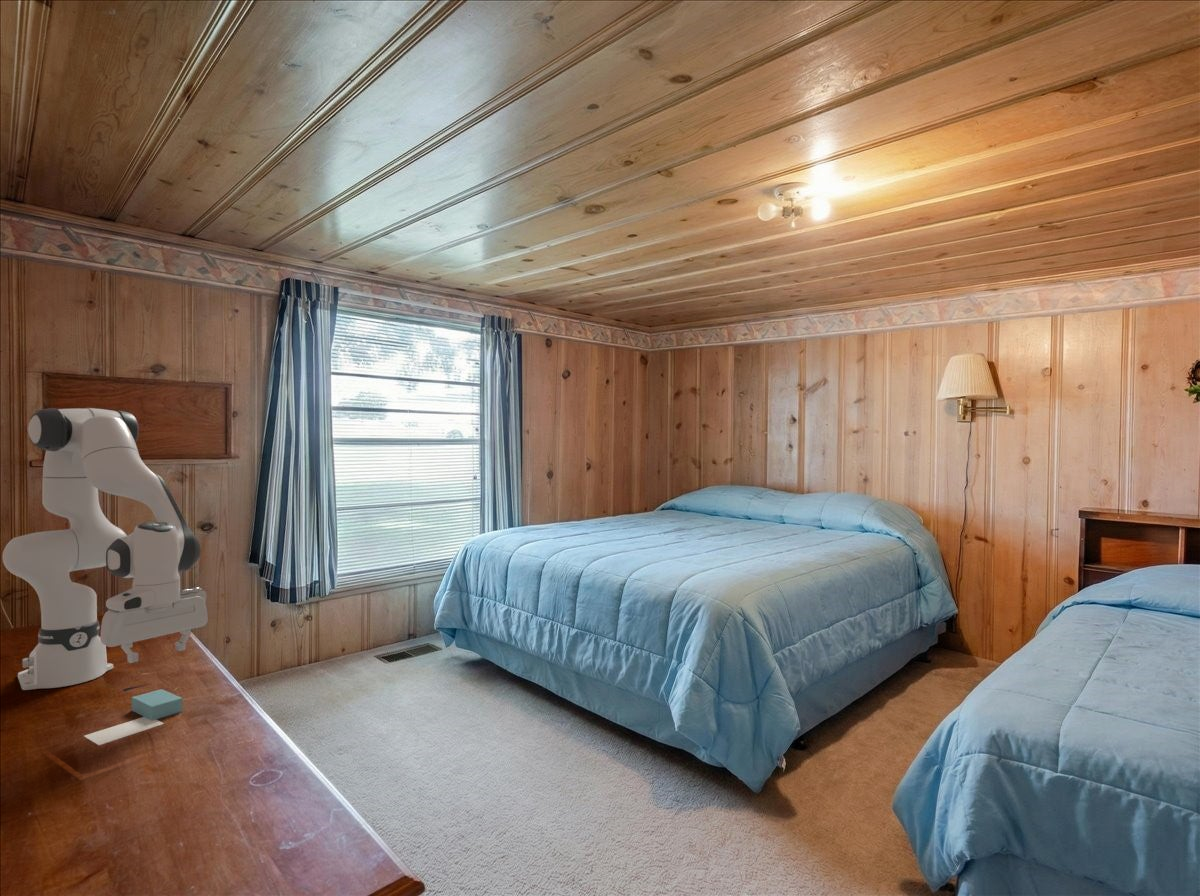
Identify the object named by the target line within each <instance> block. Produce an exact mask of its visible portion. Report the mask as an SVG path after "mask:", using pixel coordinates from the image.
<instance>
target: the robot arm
mask: <svg viewBox="0 0 1200 896" xmlns="http://www.w3.org/2000/svg"><path fill="white" fill-rule="evenodd" d="M28 422H29V423H28V426H27V430H28V433H27V434H28V437H29V439H30V442H31V444H32V445H34V446H35V447H36V448H37V449H38V450H42V451H45V455H44V459H43V467H42V484H41V485H42V492H41V493H42V494H41V495H42V496H41V499H42V501H41V503H42V506H43V508H44V509H45V510H46V511H47V512H49V513H50V514H52V515H55V516H59V517H62V518H64V519H68V521H69V525H70V527H69V528H67V529H59V530H57V529H56V530H47V531H46V530H45V531H37V532H32V533H28V534H23V535H20V536H16V537H12V539H10V541H8V543H7V544H6V545H5V547H4V549H3V551H2V563H3V565H4V567H5V569H6V570H7V571H8V572H10V573H11V574H12V575H14V576H16V577H18V578H20V579H22V580H24V581H25V582H27V583H28V584H29V585H30V586H31V587H32V588H33V590H35V592H36V594H37V596H38V600H39V605H40V613H41V614H40V618H41V620H40V621H41V627H40V628H39V631H38V633H37V634H38V635H37V637H38V638H37V642H38V644H36V646H35V647H34V649H33V650H32V651H31V652H29V657H25V658H22V661H21V662H22V663H21V664H22V668H26V669H25V670H22V671H19V672H17V679H18V682H19V685H20V688H21V690H22V691H31V690H37V689H56V688H62V687H68V686H74V685H78V684H82V683H86V682H89V681H92V680H95V679H97V678H99V677H101V676H103V675H104V674H105V673H106V672H108V671H110V670H112V669H114V663H109V662H108V659H107V647H108V648H114V647H117V646H120V648H121V649H122V650H123V652H125V654H126V655H127V658H126V660H127V663H128V664H132V663H133V664H134V663H136V662H138V661H140V660H139V652H134V651H132V649H131V648H133V643H136V642H141V641H143V640H149V639H152V638H158V637H162V636H166V635H170V634H175V633H180V635H181V637H180V638H179V639H178V640H179V641H176V642H174V645H175V647H174V649H175V650H174V651H177V652H179V651H180V652H181V651H184V650H186V646H187V645H186V643H187V641H188V640H189V638H190V637H191V634H192V630H193V629H197V628H202V627H205V626H206V624H207V623H208V621H209V620H208V619H209V618H208V609H207V604H206V602H207V592H206V591H205V589H202V588H200V587H193V588H189V589H188V588H187V589H181V576H180V574H179V573H183V572H187V571H188V570H190V569H191V568H192V567H193V566H194V565H195V564H196V563H197V561H199V559H200V556H201V551H202V550H201V545H200V541H199V540H198V537H196V535H195V534H194V532H193V531H192V530H191V528H190V527H189V526H188V523H187V522H186V520H185V518H184V516H183V515H182V512H181V511H180V507H179V506H178V504H177V502H176V500H175V498H174V497H173V494H172V493H171V490H170V489H169V487H168V485H167V484H166V482H165V480H164V479H163V478H162V476H161V475H159V474H157V473H154V472H153V471H152V470H151V469H150V468H149V467H148V466H147V465H146V464H145V463H144V461H143V460H142V458H141V456H140V453H139V449H138V446H137V443H136V442H137V441H138V439H139V433H140V427H139V422H138V420H137V418H136V417H135V416H134V414H132V413H131V412H127V411H124V410H118V409H114V410H112V409H111V410H110V409H104V408H94V407H85V408H79V407H78V408H57V407H53V408H43V409H39V410H37V411H35V413H33V414H32V415H31V417H30V419H29V421H28ZM99 490H100V491H101V492H103V493H106V494H109V495H114V496H119V497H124V498H126V499H127V498H128V499H132V500H135V501H138V502H139V503H143V504H144V505H146V506H147V507H148V508H149V509H150V510H151V512H152V513H153V516H154V519H156V521H147V522H142V523H140V524H137V525H136V526H135V527H134V530H133V532H131V533H130V534H129V535H128V534H127V533H126V532H125V531H124V530H123V529H121V528H120V527H118V526H116V525H115V524H113V523H112V522H111V521H109V520H108V518H107V517H106V516H105V514H104V512H103V510H102V508H101V505H100V501H99V499H100V498H99ZM103 567H106V569H107V571H108V572H109V573H111V574H112V575H114V576H115V577H117V578H119V579H120V578H121V579H122V578H123V579H125V578H126V579H130V578H133V580H132V588H130V589H128V590H125V591H123V592H122V593H119V594H116V595H114V596H111V597H110V598H108V599H107V600H106V601H105V607H106V608H107V609H108V610H107V611H106V612H105V613H104V615H103V617H102V618H101V625H100V621H99V620H98V615H97V613H98V604H97V603H98V595H97V593H96V591H95V590H94V589H93V588H92V587H90V586H88V585H86V584H83V583H82V584H81V583H78V582H74V581H72V579H71V577H70V573H71V572H75V571H76V572H77V571H83V570H90V569H97V568H98V569H99V568H103ZM99 634H100V636H99ZM27 668H28V669H27Z"/></svg>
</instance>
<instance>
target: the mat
mask: <svg viewBox="0 0 1200 896" xmlns="http://www.w3.org/2000/svg"><path fill="white" fill-rule="evenodd" d="M164 724H165V723H164V722H162V721H160V720H159V719H156V720H152V721H151V720H149V719H147V718H145V717H143V716H142V717H139V718H136V719H132V720H130V721H127V722H124V723H120V724H117V725H113V726H111V727H107V728H104V729H100V730H97V731H95V732H94V731H93V732H91V733H89V734H86V735H85V734H84V735H83V737H84V738H86V739H87V740H89V741H90V742H92V743H94V744H96V745H98V746H103V745H105V744H107V743H111V742H114V741H117V740H120V739H123V738H125V737H128V736H132V735H135V734H138V733H140V732H144V731H147V730H150V729H154V728H156V727H159V726H162V725H164Z"/></svg>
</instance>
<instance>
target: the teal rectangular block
mask: <svg viewBox="0 0 1200 896" xmlns="http://www.w3.org/2000/svg"><path fill="white" fill-rule="evenodd" d="M131 711H132V712H134V713H136V714H138V715H139V716H142V717H145V718H147V719H149V720H151V721H152V720H159V719H163V718H165V717H168V716H171V715H176V714H178V713H181V712H183V697H181V696H178V695H176V694H174V693H173V692H170V691H167V690H165V689H163V688H161V689H157V690H153V691H149V692H147V693H143V694H138V695H135V696H132V697H131Z"/></svg>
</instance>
